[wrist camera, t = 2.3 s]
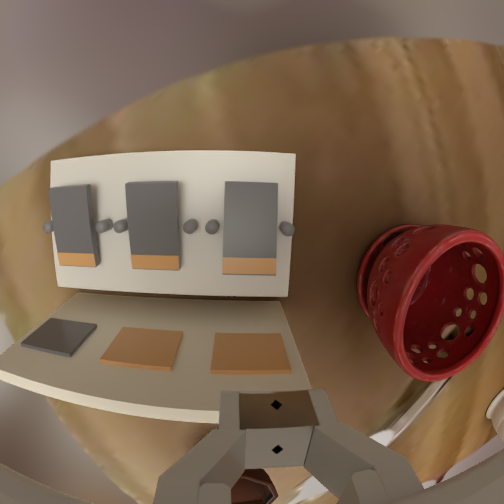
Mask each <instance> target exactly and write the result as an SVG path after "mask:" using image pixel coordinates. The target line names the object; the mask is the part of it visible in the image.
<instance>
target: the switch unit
mask: <svg viewBox="0 0 504 504" xmlns="http://www.w3.org/2000/svg"><path fill="white" fill-rule="evenodd" d="M295 157H296V154H291V153H275V152H255V151H217V150H193V151H155V152H136V153H121V154H108V155H97V156H87V157H78V158H70V159H62V160H55V161H51V188H52V187H58V186H70V185H83V184H90V185H91V198H92V209H93V218H94V226H95V234H96V242H97V248H98V255H99V261H100V264H99V265H98V266H97V267H79V266H60V265H59V260H58V255H57V247H56V241H55V236H54V229H53V223H52V216H51V221H48V222H45V223H44V225H43V230H44V232H46V233H50V232H52V238H53V250H54V260H55V268H56V276H57V283H58V286H60V287H71V288H83V289H95V290H109V291H124V292H140V293H159V294H182V295H210V296H258V297H288V287H289V273H290V259H291V243H292V235H293V234H294V232H295V227H294V226H293V206H294V184H295ZM143 181H178V205H179V235H180V255H181V268H180V270H179V271H176V270H147V269H133V268H132V263H131V251H130V242H129V232H128V221H127V208H126V193H125V184H126V183H128V182H143ZM225 181H239V182H267V183H278V214H277V254H276V258H277V261H276V276H266V275H222V269H223V226H224V194H225ZM0 380H3V381H5V382H8V383H11V384H13V385H16V386H19V387H22V388H24V389H27V390H31V391H34V392H36V393H39V394H43V395H46V396H49V397H53V398H56V399H60V400H63V401H67V402H71V403H75V404H79V405H83V406H87V407H92V408H96V409H101V410H106V411H111V412H116V413H122V414H128V415H134V416H141V417H148V418H156V419H164V420H174V421H185V422H199V423H219V408H220V393H221V391H238V392H239V391H294V390H306V389H312V387H311V385H310V382H309V379H308V376H307V374H306V371H305V368H304V365H303V363H302V360H301V357H300V354H299V352H298V349H297V346H296V343H295V341H294V338H293V335H292V332H291V330H290V327H289V324H288V322H287V319H286V316H285V313H284V311H283V308H282V305H281V303H280V301H241V300H202V299H176V298H156V297H138V296H123V295H109V294H96V293H84V292H78V293H77V294H75V295H74V296H73V297H71V298H70V299H69V300H67V301H66V302H65V303H64V304H62V305H61V306H60V307H58V308H57V309H56V310H55V311H53V312H52V313H51V314H49V315H48V316H47V317H46V318H44V319H43V320H42V321H41V322H39V323H38V324H37V325H36V326H35V327H33V328H32V329H31V330H30V331H28V332H27V333H26V334H25V335H24V336H22V337H21V338H20V339H19V340H18V341H17V342H15V343H14V344H13V345H12V346H11V347H10V348H8V349H7V350H6V351H5V352H4V353H3V354H1V355H0Z"/></svg>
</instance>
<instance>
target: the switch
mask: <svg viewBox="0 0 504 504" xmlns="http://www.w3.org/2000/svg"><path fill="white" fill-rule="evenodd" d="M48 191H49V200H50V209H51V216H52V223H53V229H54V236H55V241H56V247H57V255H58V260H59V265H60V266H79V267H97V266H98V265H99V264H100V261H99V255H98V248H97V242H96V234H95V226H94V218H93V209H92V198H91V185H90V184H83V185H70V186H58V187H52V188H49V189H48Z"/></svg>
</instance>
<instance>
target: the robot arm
mask: <svg viewBox="0 0 504 504" xmlns="http://www.w3.org/2000/svg"><path fill="white" fill-rule="evenodd" d="M294 466H304V468H305V469H306V470H308V471H309V472H310V473H311V474H312V475H313V476H314V477H315V478H316V479H317V480H318V481H319V482H320V483H321V484H323V485H324V486H325V487H326V488H327V489H328V490H329V491H330V492H332V493H333V494H334V495H335V496H336V497H337V498H338V499H339V501H338V502H337V504H504V449H502V450H501V451H499V452H497V453H496V454H494V455H493V456H491V457H489V458H487V459H486V460H484V461H482V462H481V463H479V464H477V465H475V466H473V467H471V468H469V469H468V470H466V471H464V472H462V473H460V474H458V475H456V476H454V477H452V478H449V479H447V480H445V481H443V482H441V483H438V484H436V485H434V486H431V487H429V488H427V489H424V488H423V486H422V484H421V482H420V480H419V479H418V477H417V475H416V473H415V472H414V470H413V468H412V466H411V464H410V463H409V461H408V459H407V458H406V457H404V456H402V455H400V454H398V453H396V452H395V451H393V450H391V449H389V448H387V447H385V446H384V445H382V444H380V443H378V442H376V441H375V440H373V439H371V438H369V437H368V436H366V435H364V434H362V433H361V432H359V431H357V430H356V429H354V428H352V427H351V426H349V425H347V424H346V423H339V421H338V419H337V417H336V414H335V412H334V409H333V407H332V405H331V402H330V400H329V398H328V395H327V393H326V391H325V389H324V388H315V389H306V390H294V391H239V392H238V391H221V393H220V408H219V426H218V429H213V430H212V431H210V432H209V433H208V434H207V435H206V436H205V437H204V438H203V439H202V440H201V441H200V442H199V443H197V444H196V445H195V446H194V447H193V448H192V449H191V450H190V451H188V452H187V453H186V454H185V455H184V456H183V457H182V458H180V459H179V460H178V461H177V462H176V463H175V464H173V465H172V466H171V467H170V468H169V469H168V470H166V471H165V472H164V473H163V474H162V475H160V476H159V479H158V483H157V488H156V492H155V497H154V502H153V504H231V489H232V487H233V486H234V485H235V483H236V482H237V481H238V479H239V478H240V476H241V475H242V474H243V472H244V471H245V469H258V468H274V467H294ZM0 504H95V503H91V502H88V501H85V500H82V499H79V498H76V497H73V496H71V495H68V494H65V493H63V492H60V491H57V490H55V489H53V488H50V487H48V486H45V485H43V484H41V483H38V482H36V481H34V480H32V479H30V478H28V477H26V476H24V475H22V474H20V473H18V472H16V471H14V470H12V469H10V468H8V467H6V466H5V465H3V464H1V463H0Z"/></svg>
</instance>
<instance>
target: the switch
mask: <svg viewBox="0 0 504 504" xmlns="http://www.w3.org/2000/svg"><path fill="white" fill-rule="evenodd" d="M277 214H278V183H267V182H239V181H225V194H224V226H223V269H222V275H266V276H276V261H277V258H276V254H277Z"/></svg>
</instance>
